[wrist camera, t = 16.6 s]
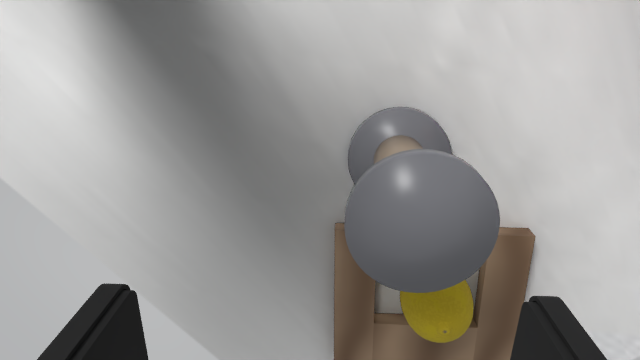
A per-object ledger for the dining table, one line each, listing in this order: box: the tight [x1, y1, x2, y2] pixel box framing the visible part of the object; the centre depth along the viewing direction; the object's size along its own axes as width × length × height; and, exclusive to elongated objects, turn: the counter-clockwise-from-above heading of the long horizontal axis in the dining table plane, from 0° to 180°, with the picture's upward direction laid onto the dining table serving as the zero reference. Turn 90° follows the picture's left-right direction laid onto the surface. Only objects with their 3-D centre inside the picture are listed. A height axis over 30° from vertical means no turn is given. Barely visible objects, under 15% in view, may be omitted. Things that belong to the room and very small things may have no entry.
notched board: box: [334, 223, 535, 360], centre depth 39 cm, size 16×14×2 cm
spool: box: [344, 107, 500, 293], centre depth 29 cm, size 8×8×13 cm
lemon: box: [400, 280, 473, 343], centre depth 35 cm, size 6×6×8 cm
